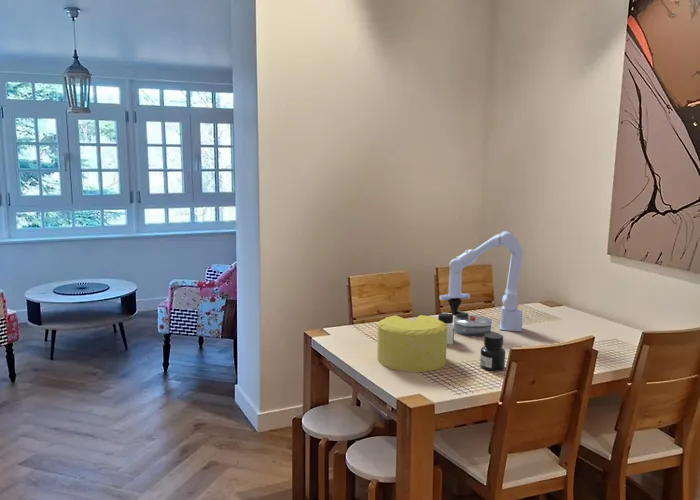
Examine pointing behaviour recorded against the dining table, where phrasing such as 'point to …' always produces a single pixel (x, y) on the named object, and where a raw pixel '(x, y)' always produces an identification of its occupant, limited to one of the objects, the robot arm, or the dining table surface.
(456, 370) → the dining table surface
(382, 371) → the dining table surface
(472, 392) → the dining table surface
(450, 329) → the medicine bottle
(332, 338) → the dining table surface
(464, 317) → the cooker lid
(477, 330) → the cooker pot
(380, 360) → the cheese
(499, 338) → the ink bottle
